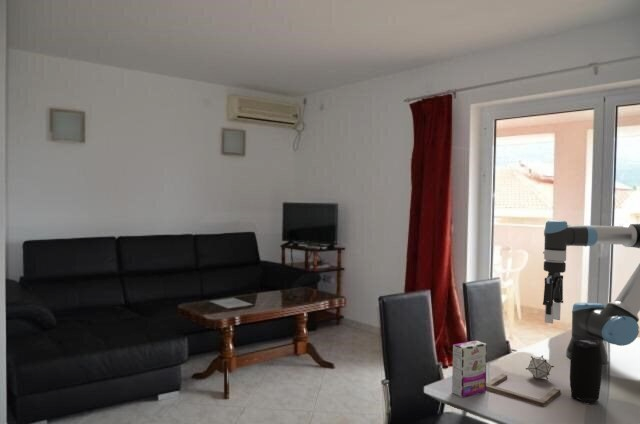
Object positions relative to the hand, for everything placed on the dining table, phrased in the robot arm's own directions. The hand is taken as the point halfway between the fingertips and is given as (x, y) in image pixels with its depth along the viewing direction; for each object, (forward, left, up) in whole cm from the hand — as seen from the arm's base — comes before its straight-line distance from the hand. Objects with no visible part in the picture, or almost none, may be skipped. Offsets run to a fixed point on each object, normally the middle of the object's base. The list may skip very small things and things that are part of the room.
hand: (552, 321), depth 184 cm
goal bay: (+28, 0, -19) cm, 34 cm away
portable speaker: (+21, +17, -19) cm, 33 cm away
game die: (+12, 0, -19) cm, 23 cm away
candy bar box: (+44, -12, -19) cm, 49 cm away
